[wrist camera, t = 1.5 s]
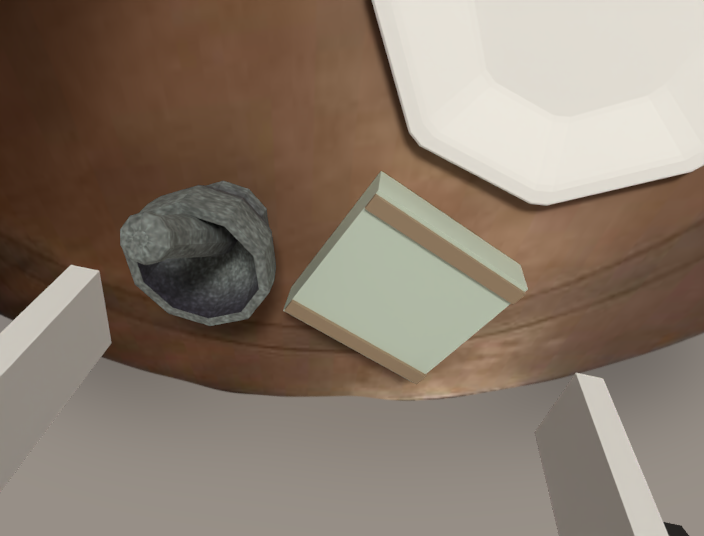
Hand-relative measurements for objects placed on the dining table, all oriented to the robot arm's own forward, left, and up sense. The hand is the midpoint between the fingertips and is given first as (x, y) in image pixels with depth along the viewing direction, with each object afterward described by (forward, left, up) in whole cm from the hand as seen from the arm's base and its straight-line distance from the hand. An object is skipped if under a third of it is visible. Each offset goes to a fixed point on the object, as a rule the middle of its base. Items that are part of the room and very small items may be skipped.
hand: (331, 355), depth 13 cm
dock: (+9, -10, -21) cm, 25 cm away
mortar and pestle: (-5, -13, -22) cm, 26 cm away
